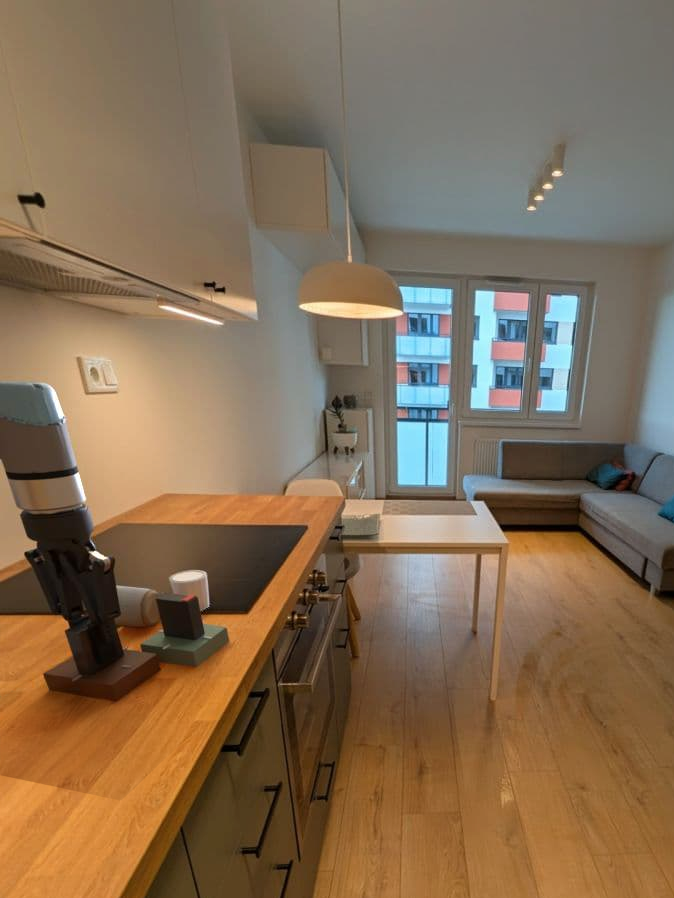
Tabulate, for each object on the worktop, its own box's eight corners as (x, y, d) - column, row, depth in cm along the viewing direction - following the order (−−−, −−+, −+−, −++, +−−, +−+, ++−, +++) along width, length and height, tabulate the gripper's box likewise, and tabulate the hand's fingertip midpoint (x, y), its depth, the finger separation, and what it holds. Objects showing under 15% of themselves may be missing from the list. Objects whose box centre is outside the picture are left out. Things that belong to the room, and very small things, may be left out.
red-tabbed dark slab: (91, 674, 75) (77, 631, 72) (77, 671, 76) (63, 628, 73) (124, 654, 80) (113, 613, 77) (111, 652, 81) (99, 611, 78)
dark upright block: (164, 635, 86) (155, 597, 83) (174, 629, 88) (165, 591, 85) (195, 640, 85) (187, 601, 82) (205, 633, 87) (197, 595, 84)
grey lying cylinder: (149, 633, 93) (140, 595, 90) (103, 633, 92) (92, 594, 89) (175, 609, 102) (168, 574, 99) (134, 609, 102) (125, 573, 99)
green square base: (140, 661, 84) (136, 644, 83) (182, 633, 93) (179, 617, 92) (194, 669, 83) (191, 652, 81) (232, 639, 92) (229, 624, 90)
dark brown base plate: (45, 692, 76) (38, 674, 75) (101, 658, 85) (96, 641, 84) (113, 704, 74) (108, 686, 72) (163, 667, 83) (159, 651, 81)
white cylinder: (171, 606, 103) (164, 574, 100) (206, 597, 108) (200, 567, 105) (181, 618, 99) (174, 585, 96) (217, 608, 103) (211, 576, 100)
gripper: (125, 505, 69) (161, 653, 79) (35, 496, 73) (80, 639, 83) (75, 519, 63) (122, 679, 73) (-21, 508, 66) (36, 662, 76)
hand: (100, 657), depth 78 cm, fingers closed on red-tabbed dark slab, 2 cm apart
